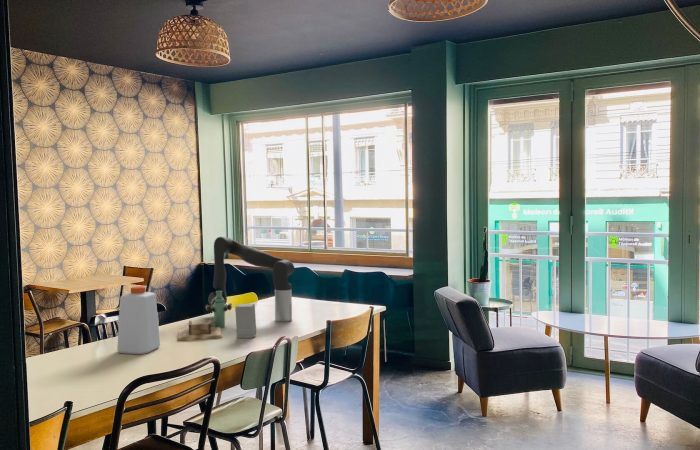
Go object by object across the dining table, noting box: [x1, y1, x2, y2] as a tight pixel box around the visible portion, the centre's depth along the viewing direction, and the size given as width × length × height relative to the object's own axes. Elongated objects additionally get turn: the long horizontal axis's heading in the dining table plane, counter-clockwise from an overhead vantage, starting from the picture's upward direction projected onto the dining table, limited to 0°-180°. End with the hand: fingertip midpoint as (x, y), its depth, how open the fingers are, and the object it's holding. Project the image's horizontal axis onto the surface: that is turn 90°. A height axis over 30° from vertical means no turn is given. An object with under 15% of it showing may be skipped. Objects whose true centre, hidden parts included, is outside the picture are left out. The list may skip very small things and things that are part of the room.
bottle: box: [213, 290, 226, 329], centre depth 285 cm, size 6×6×19 cm
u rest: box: [177, 319, 223, 342], centre depth 268 cm, size 20×18×6 cm
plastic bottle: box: [116, 285, 161, 355], centre depth 241 cm, size 15×15×28 cm
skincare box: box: [234, 303, 257, 339], centre depth 264 cm, size 8×7×16 cm
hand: (219, 309), depth 283 cm, fingers closed on bottle, 5 cm apart
